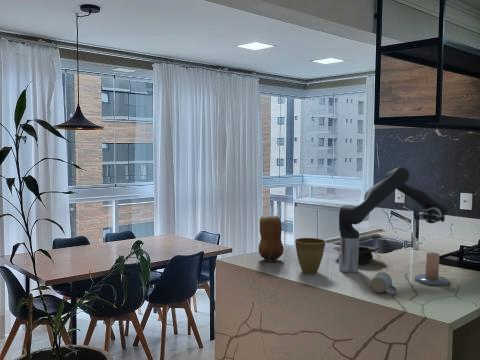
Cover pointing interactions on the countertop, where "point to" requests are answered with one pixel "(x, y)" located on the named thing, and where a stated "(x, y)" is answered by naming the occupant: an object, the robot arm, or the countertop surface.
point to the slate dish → (440, 282)
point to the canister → (432, 266)
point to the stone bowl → (363, 254)
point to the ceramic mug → (382, 283)
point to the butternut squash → (270, 238)
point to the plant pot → (309, 254)
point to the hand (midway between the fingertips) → (426, 218)
